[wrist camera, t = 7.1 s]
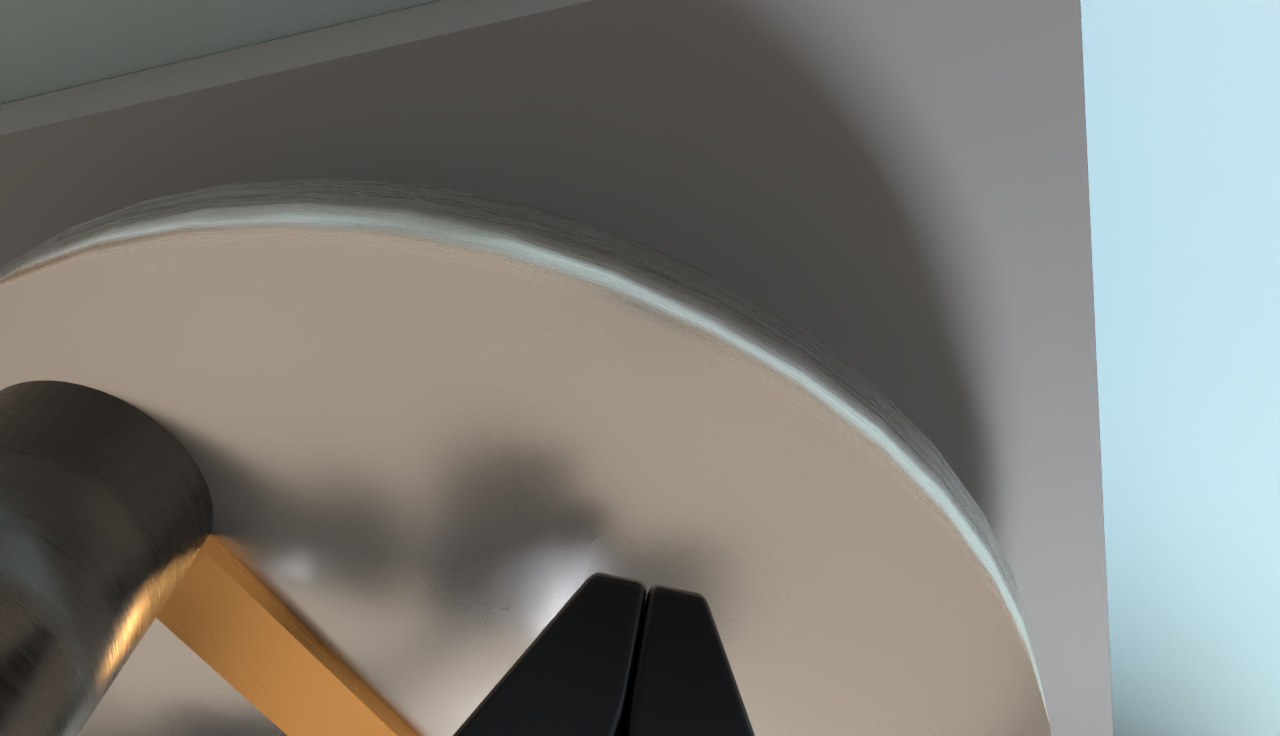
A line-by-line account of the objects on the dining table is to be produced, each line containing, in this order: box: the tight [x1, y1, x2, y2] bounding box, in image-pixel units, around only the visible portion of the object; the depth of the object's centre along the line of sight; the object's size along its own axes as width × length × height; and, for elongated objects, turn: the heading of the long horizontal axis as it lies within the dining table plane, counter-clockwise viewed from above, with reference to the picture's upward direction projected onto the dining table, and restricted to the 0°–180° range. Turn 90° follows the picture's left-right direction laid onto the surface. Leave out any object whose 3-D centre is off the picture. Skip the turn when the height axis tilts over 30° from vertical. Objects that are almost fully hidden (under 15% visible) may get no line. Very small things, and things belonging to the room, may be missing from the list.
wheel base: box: [0, 0, 1113, 736], centre depth 15 cm, size 16×15×3 cm
